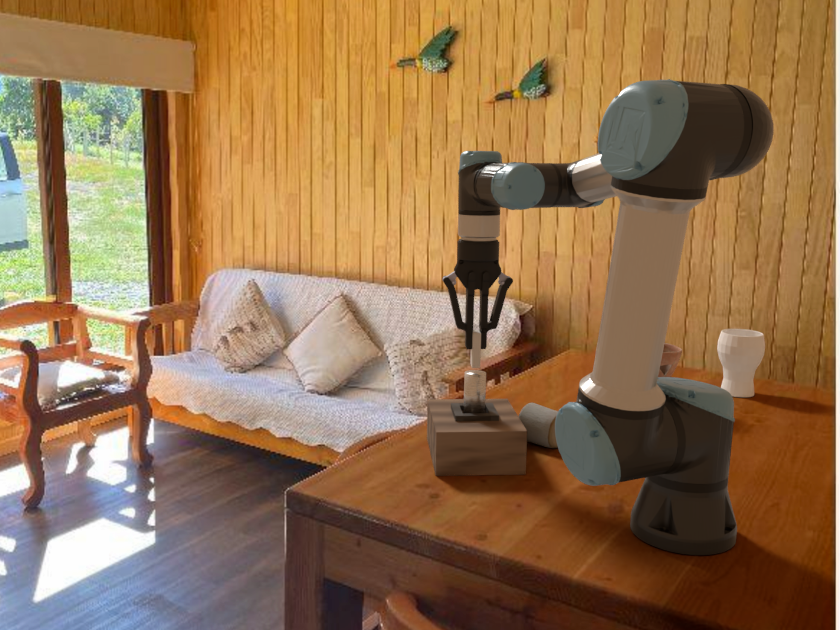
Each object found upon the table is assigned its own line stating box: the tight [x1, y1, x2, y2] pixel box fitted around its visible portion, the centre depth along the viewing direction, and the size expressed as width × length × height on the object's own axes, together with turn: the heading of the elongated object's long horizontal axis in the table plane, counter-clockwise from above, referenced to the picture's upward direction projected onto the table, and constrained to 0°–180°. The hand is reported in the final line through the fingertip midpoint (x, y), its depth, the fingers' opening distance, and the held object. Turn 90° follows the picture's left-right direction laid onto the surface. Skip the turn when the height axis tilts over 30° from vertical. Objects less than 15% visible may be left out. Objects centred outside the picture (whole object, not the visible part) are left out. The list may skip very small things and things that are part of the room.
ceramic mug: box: [518, 402, 559, 449], centre depth 161 cm, size 11×8×8 cm
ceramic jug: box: [658, 342, 683, 377], centre depth 186 cm, size 18×14×14 cm
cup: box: [716, 328, 766, 398], centre depth 197 cm, size 11×11×15 cm
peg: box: [463, 369, 487, 413], centre depth 152 cm, size 4×4×8 cm
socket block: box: [426, 398, 528, 477], centre depth 153 cm, size 20×16×9 cm
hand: (475, 366), depth 151 cm, fingers closed
